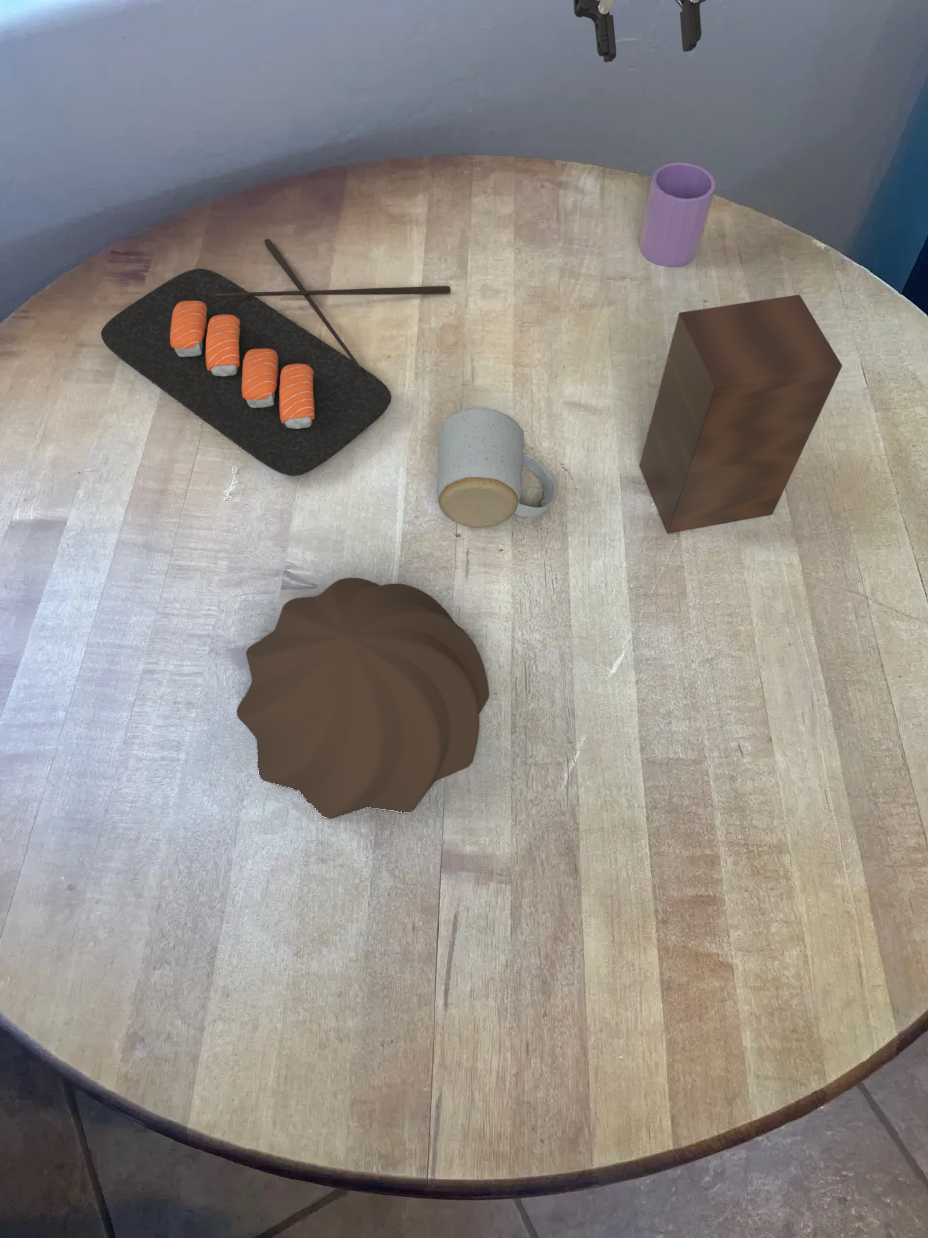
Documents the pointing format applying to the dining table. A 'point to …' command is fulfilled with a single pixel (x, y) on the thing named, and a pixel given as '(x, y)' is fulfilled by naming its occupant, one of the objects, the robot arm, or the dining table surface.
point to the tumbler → (676, 213)
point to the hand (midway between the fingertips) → (650, 54)
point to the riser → (735, 410)
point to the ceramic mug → (486, 469)
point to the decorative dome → (364, 697)
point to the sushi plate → (252, 366)
